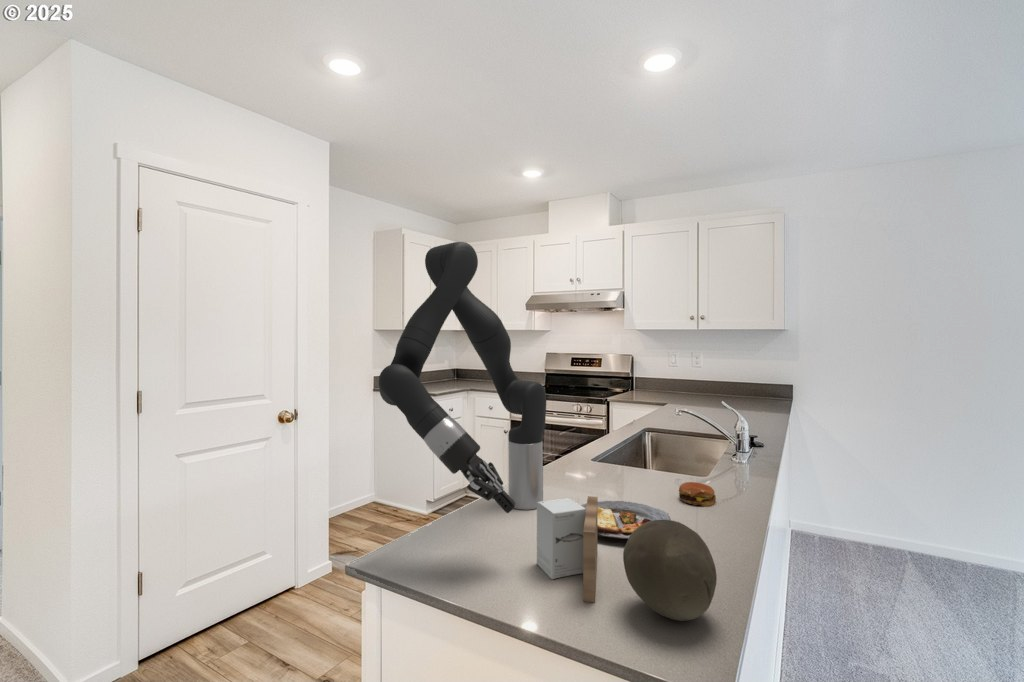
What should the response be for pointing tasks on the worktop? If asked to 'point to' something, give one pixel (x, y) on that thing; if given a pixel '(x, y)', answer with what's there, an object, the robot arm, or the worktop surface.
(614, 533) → the food plate
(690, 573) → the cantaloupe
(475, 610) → the worktop surface
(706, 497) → the burger
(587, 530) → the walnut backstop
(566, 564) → the supplement box
